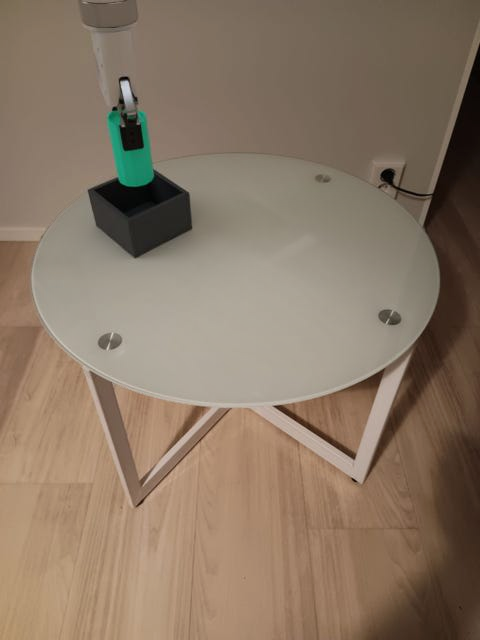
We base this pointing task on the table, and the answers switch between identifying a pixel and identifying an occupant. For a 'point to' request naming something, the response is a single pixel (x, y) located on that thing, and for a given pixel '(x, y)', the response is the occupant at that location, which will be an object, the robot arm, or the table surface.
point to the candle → (131, 154)
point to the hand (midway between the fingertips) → (129, 138)
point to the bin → (141, 212)
